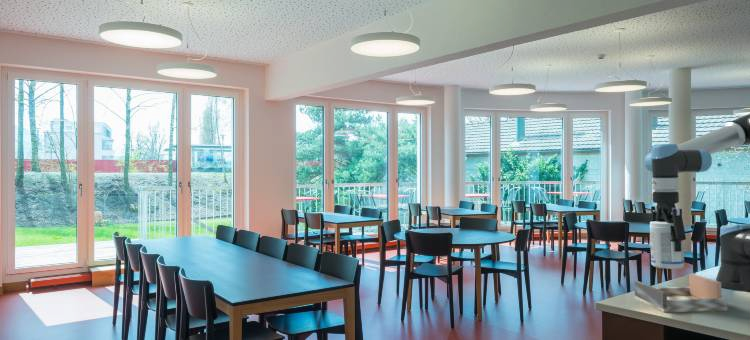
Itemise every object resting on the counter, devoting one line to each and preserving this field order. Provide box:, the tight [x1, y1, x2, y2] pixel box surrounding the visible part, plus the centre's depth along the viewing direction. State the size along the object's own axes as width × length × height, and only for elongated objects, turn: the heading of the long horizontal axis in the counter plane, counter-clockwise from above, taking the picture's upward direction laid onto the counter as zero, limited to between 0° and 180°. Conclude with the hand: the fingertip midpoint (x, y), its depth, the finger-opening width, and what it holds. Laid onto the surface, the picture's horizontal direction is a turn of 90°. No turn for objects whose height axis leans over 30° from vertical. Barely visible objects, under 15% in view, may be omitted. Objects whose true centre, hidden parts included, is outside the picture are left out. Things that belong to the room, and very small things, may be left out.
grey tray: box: [634, 280, 728, 313], centre depth 170 cm, size 20×18×6 cm
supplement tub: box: [649, 221, 685, 270], centre depth 170 cm, size 10×10×15 cm
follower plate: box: [688, 273, 723, 299], centre depth 170 cm, size 2×14×7 cm, turn 0°
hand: (667, 258), depth 170 cm, fingers closed on supplement tub, 9 cm apart
